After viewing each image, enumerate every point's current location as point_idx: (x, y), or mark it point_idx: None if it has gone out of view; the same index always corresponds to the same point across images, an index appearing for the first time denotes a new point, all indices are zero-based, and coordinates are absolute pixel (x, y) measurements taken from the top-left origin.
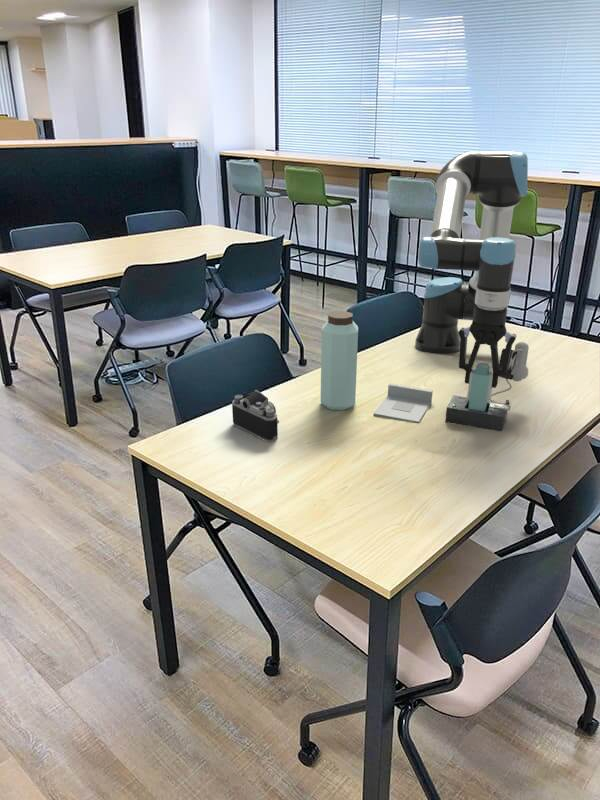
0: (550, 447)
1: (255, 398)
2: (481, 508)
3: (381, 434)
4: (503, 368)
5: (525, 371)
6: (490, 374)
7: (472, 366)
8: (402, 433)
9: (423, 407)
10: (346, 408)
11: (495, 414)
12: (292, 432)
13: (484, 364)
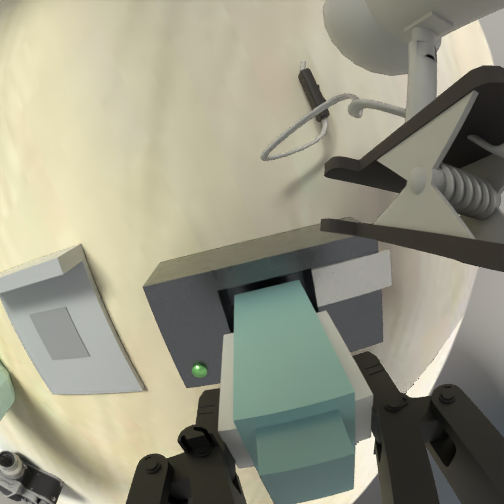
0: (462, 298)
1: (15, 498)
2: (363, 488)
3: (127, 445)
4: (443, 454)
5: (439, 46)
6: (355, 427)
7: (225, 462)
8: (151, 431)
9: (91, 309)
10: (12, 387)
11: (353, 343)
12: (51, 465)
13: (318, 478)
